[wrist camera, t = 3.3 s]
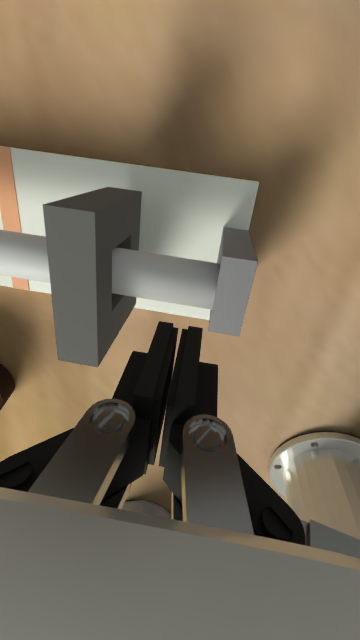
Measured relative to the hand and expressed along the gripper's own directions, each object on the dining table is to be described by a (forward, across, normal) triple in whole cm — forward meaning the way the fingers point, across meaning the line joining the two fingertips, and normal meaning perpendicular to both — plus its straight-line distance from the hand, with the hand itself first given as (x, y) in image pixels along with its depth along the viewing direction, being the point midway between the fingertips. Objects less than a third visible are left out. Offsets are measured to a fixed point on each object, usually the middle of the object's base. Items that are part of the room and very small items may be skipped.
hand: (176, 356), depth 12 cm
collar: (+13, +6, +1) cm, 15 cm away
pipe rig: (+16, +11, +1) cm, 20 cm away
